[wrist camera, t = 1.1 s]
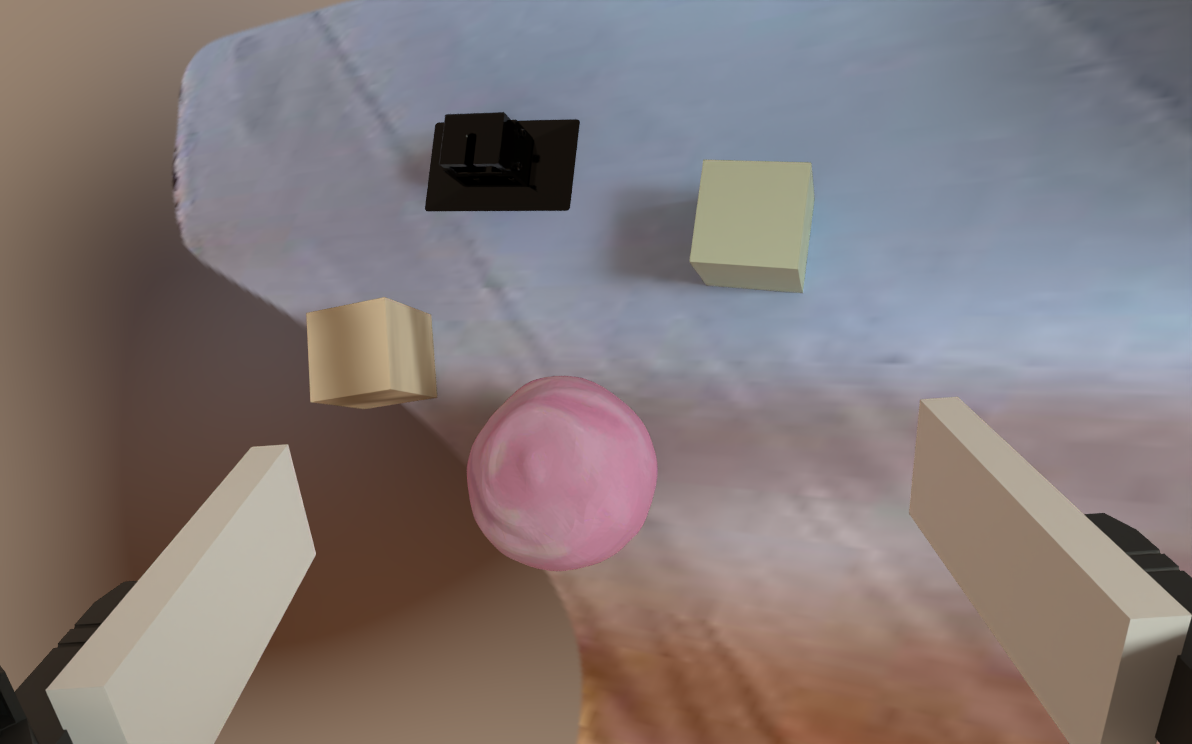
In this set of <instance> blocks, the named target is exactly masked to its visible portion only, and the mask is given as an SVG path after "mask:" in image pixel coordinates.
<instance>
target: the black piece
mask: <svg viewBox="0 0 1192 744" xmlns="http://www.w3.org/2000/svg"><path fill="white" fill-rule="evenodd" d="M579 124H580V121H579V120H577V119H573V120H530V121H517V120H511V119H510V118H509V117H508V116H507V115H506V114H505V113H504V112H498V113H471V114H446V115H445V121H444V122H443V123H437V124H436V125H435V132H434V140H433V148H432V156H431V164H430V173H429V181H428V189H427V197H426V205H425V210H426V211H567V210H569V208H570V203H571V194H572V185H573V176H574V168H575V159H576V150H577V142H578V133H579Z"/></svg>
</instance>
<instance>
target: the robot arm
mask: <svg viewBox="0 0 1192 744" xmlns="http://www.w3.org/2000/svg"><path fill="white" fill-rule="evenodd" d="M909 514H910V516H911V517H912V518H913V520H914V521H915V523H916V524H917V526H918V527H919V528H920V530H921V531H922V533H923V534H924V536H925V537H926V539H927V540H928V541H929V543H930V544H931V546H932V547H933V549H934V550H935V551H936V553H937V554H938V556H939V557H940V559H941V560H942V561H943V563H944V564H945V566H946V567H947V569H948V570H949V571H950V573H951V574H952V576H953V577H954V579H955V580H956V582H957V583H958V584H959V586H960V587H961V589H962V590H963V592H964V593H965V594H966V596H967V597H968V599H969V600H970V602H971V603H972V604H973V606H974V607H975V609H976V610H977V612H978V613H979V614H980V616H981V617H982V619H983V620H984V622H985V623H986V625H987V626H988V627H989V629H990V630H991V632H992V633H993V635H994V636H995V637H996V639H997V640H998V642H999V643H1000V645H1001V646H1002V647H1003V649H1004V650H1005V652H1006V653H1007V655H1008V656H1009V657H1010V659H1011V660H1012V662H1013V663H1014V665H1015V666H1016V668H1017V669H1018V670H1019V672H1020V673H1021V675H1022V676H1023V678H1024V679H1025V680H1026V682H1027V683H1028V685H1029V686H1030V688H1031V689H1032V690H1033V692H1034V693H1035V695H1036V696H1037V698H1038V699H1039V700H1040V702H1041V703H1042V705H1043V706H1044V708H1045V709H1046V711H1047V712H1048V713H1049V715H1050V716H1051V718H1052V719H1053V721H1054V722H1055V723H1056V725H1057V726H1058V728H1059V729H1060V731H1061V732H1062V733H1063V735H1064V736H1065V738H1066V739H1067V741H1068V742H1069V743H1070V744H1156V742H1157V740H1158V742H1159V743H1160V744H1192V578H1191V577H1190V576H1189V575H1188V574H1187V573H1186V572H1185V571H1180V570H1179V566H1178V565H1177V564H1175V563H1174V562H1173V561H1172V560H1171V559H1170V558H1168V557H1167V556H1166V555H1165V554H1160V550H1159V549H1158V548H1157V547H1156V546H1155V545H1154V544H1152V543H1151V542H1150V541H1149V540H1148V539H1147V538H1145V537H1144V536H1143V535H1142V534H1141V533H1140V532H1139V531H1137V530H1136V529H1134V528H1132V527H1130V526H1128V525H1126V524H1124V523H1123V522H1121V521H1119V520H1117V519H1115V518H1113V517H1111V516H1109V515H1107V514H1105V513H1097V514H1083V513H1082V512H1081V511H1080V510H1079V509H1078V508H1076V507H1075V506H1074V505H1073V504H1072V503H1071V502H1070V501H1069V500H1068V499H1067V498H1066V497H1065V496H1064V495H1062V494H1061V493H1060V492H1059V491H1058V490H1057V489H1056V488H1055V487H1054V486H1053V485H1052V484H1051V483H1050V482H1049V481H1047V480H1046V479H1045V478H1044V477H1043V476H1042V475H1041V474H1040V473H1039V472H1038V471H1037V470H1036V469H1035V468H1033V467H1032V466H1031V465H1030V464H1029V463H1028V462H1027V461H1026V460H1025V459H1024V458H1023V457H1022V456H1021V455H1020V454H1018V453H1017V452H1016V451H1015V450H1014V449H1013V448H1012V447H1011V446H1010V445H1009V444H1008V443H1007V442H1006V441H1004V440H1003V439H1002V438H1001V437H1000V436H999V435H998V434H997V433H996V432H995V431H994V430H993V429H992V428H991V427H989V426H988V425H987V424H986V423H985V422H984V421H983V420H982V419H981V418H980V417H979V416H978V415H977V414H975V413H974V412H973V411H972V410H971V409H970V408H969V407H968V406H967V405H966V404H965V403H964V402H963V401H962V400H960V399H959V398H958V397H949V398H935V399H921V400H920V406H919V417H918V427H917V437H916V447H915V458H914V468H913V478H912V489H911V499H910V509H909ZM315 555H316V552H315V548H314V544H313V540H312V536H311V533H310V529H309V525H308V521H307V517H306V513H305V509H304V506H303V501H302V497H301V493H300V490H299V486H298V482H297V478H296V474H295V470H294V467H293V462H292V459H291V454H290V451H289V447H288V444H287V445H273V446H259V447H251V448H250V450H249V451H248V452H247V453H246V454H245V456H244V457H243V458H242V459H241V460H240V461H239V462H238V464H237V465H236V466H235V467H234V468H233V470H232V471H231V472H230V473H229V474H228V475H227V477H226V478H225V479H224V480H223V482H222V483H221V484H220V485H219V486H218V487H217V488H216V490H215V491H214V492H213V493H212V494H211V496H210V497H209V498H208V499H207V500H206V501H205V503H204V504H203V505H202V506H201V507H200V509H199V510H198V511H197V512H196V513H195V514H194V516H193V517H192V518H191V519H190V520H189V522H188V523H187V524H186V525H185V526H184V527H183V529H182V530H181V531H180V532H179V533H178V534H177V536H176V537H175V538H174V539H173V540H172V542H171V543H170V544H169V545H168V546H167V548H166V549H165V550H164V551H163V552H162V553H161V555H160V556H159V557H158V558H157V559H156V561H155V562H154V563H153V564H152V565H151V566H150V568H149V569H148V570H147V571H146V572H145V574H144V575H143V576H142V577H141V578H140V579H139V580H138V581H128V582H123V583H122V584H120V585H119V586H117V587H116V588H114V589H113V590H111V591H110V592H109V593H107V594H106V595H104V596H103V597H102V598H100V599H99V600H97V601H96V602H95V603H94V604H93V605H92V606H91V607H90V608H89V609H88V610H87V611H86V613H85V614H84V615H83V616H82V617H81V618H80V619H79V620H78V622H77V623H76V624H75V628H74V629H70V631H69V632H68V633H67V634H66V635H65V636H64V637H63V638H62V639H61V641H60V642H59V643H58V647H57V648H53V649H52V651H51V652H50V653H49V654H48V655H47V656H46V657H45V658H44V660H43V661H42V662H41V663H40V664H39V665H38V666H37V667H36V669H35V670H34V671H33V672H32V673H31V674H30V675H29V676H28V677H27V679H26V680H25V681H24V682H23V683H22V684H21V685H20V686H19V688H18V689H17V690H16V691H15V692H14V690H13V688H12V686H11V684H10V682H9V679H8V677H7V675H6V673H5V671H4V670H3V669H2V668H1V666H0V744H214V743H215V741H216V739H217V737H218V735H219V733H220V731H221V730H222V728H223V726H224V724H225V722H226V720H227V718H228V717H229V715H230V713H231V711H232V709H233V707H234V706H235V704H236V702H237V700H238V698H239V696H240V694H241V693H242V690H243V689H244V687H245V685H246V683H247V681H248V680H249V678H250V676H251V674H252V672H253V670H254V668H255V666H256V665H257V663H258V661H259V659H260V657H261V655H262V653H263V651H264V650H265V648H266V646H267V644H268V642H269V641H270V639H271V636H272V635H273V633H274V631H275V629H276V628H277V626H278V624H279V622H280V620H281V618H282V616H283V615H284V612H285V611H286V609H287V607H288V605H289V603H290V601H291V600H292V598H293V596H294V594H295V592H296V590H297V588H298V586H299V585H300V583H301V581H302V579H303V577H304V575H305V574H306V572H307V570H308V568H309V566H310V564H311V563H312V561H313V559H314V557H315Z"/></svg>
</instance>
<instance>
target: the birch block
mask: <svg viewBox="0 0 1192 744" xmlns="http://www.w3.org/2000/svg"><path fill="white" fill-rule="evenodd" d="M306 316H307V337H308V356H309V378H310V401H311V402H314V403H321V404H329V405H336V406H344V407H352V408H360V409H368V408H375V407H380V406H388V405H393V404H401V403H406V402H412V401H418V400H425V399H431V398H437V387H436V373H435V360H434V346H433V333H432V320H431V315H430V314H428V313H425V312H423V311H420V310H417V309H415V308H412V307H409V306H407V305H404V304H402V303H399V302H396V301H394V300H391V299H388V298H386V297H383V298H378V299H373V300H368V301H363V302H358V303H353V304H349V305H344V306H339V307H334V308H329V309H324V310H319V311H314V312H309V313H306Z"/></svg>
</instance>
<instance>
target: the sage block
mask: <svg viewBox="0 0 1192 744" xmlns="http://www.w3.org/2000/svg"><path fill="white" fill-rule="evenodd" d="M814 199H815V198H814V187H813V176H812V165H811V163H807V162H770V161H733V160H703V167H702V174H701V181H700V188H699V196H698V203H697V210H696V217H695V225H694V232H693V239H692V246H691V253H690V261H689V262H690V263H691V265H692V266H693V267H694V269H695V270H696V272H697V273H698V274H699V276H700V277H701V279H702V280H703V281H704V283H705V284H706V285H707V286H719V287H732V288H745V289H758V290H770V291H783V292H796V293H803V287H804V279H805V271H806V263H807V255H808V247H809V239H810V231H811V223H812V215H813V207H814Z"/></svg>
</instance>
